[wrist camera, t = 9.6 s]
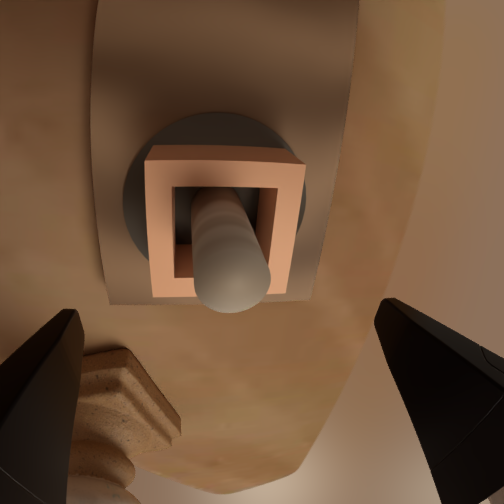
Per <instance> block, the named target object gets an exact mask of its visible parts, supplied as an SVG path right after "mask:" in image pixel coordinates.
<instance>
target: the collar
mask: <svg viewBox="0 0 504 504" xmlns="http://www.w3.org/2000/svg"><path fill="white" fill-rule="evenodd" d="M305 170H306V164H305V163H303V162H302V161H301V160H299V159H298V158H297V157H295V156H294V155H293V154H291V153H290V152H289V151H287V150H286V149H283V148H269V147H251V146H226V145H153V147H152V148H151V150H150V152H149V154H148V155H147V157H146V159H145V199H146V220H147V237H148V250H149V263H150V274H151V284H152V294H153V297H197V295H196V292H195V289H194V276H193V255H192V244H176V236H175V187H182V186H206V187H260V192H259V202H258V212H257V222H256V231H255V236H256V238H257V241H258V243H259V246H260V248H261V250H262V253H263V255H264V258H265V260H266V262H267V265H268V267H269V270H270V273H271V283H270V287H269V289H268V291H267V293H266V294H283V293H286V288H287V283H288V277H289V271H290V266H291V260H292V254H293V248H294V242H295V235H296V229H297V223H298V217H299V210H300V204H301V197H302V190H303V184H304V177H305Z"/></svg>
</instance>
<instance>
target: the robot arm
mask: <svg viewBox="0 0 504 504" xmlns="http://www.w3.org/2000/svg"><path fill="white" fill-rule="evenodd" d="M374 325H375V329H376V332H377V334H378V337H379V340H380V343H381V346H382V349H383V352H384V355H385V358H386V361H387V364H388V366H389V369H390V371H391V374H392V376H393V378H394V380H395V382H396V385H397V387H398V390H399V392H400V394H401V397H402V399H403V401H404V404H405V406H406V408H407V411H408V413H409V416H410V418H411V421H412V423H413V426H414V428H415V431H416V434H417V436H418V438H419V441H420V444H421V447H422V449H423V452H424V454H425V457H426V460H427V463H428V465H429V468H430V470H431V474H432V477H433V480H434V483H435V486H436V488H437V491H438V494H439V497H440V500H441V503H442V504H479V503H480V502H482V501H484V500H485V499H487V498H488V499H489V501H490V503H491V504H504V358H502V357H500V356H498V355H497V354H495V353H493V352H491V351H489V350H487V349H486V348H484V347H482V346H479V344H477V343H475V342H473V341H472V340H470V339H468V338H466V337H465V336H463V335H461V334H459V333H458V332H456V331H454V330H452V329H450V328H448V327H447V326H445V325H443V324H441V323H440V322H438V321H436V320H434V319H432V318H431V317H429V316H427V315H425V314H423V313H422V312H419V311H418V310H416V309H414V308H412V307H411V306H409V305H407V304H405V303H403V302H401V301H400V300H397V299H396V298H385V299H383V300H382V301H381V303H380V305H379V308H378V311H377V313H376V316H375V319H374ZM83 348H84V330H83V327H82V323H81V320H80V316H79V313H78V311H77V310H76V309H63V310H61V311H60V312H59V313H58V314H56V315H55V316H54V317H53V318H52V319H51V320H50V321H48V322H47V323H46V324H45V325H44V326H43V327H41V328H40V329H39V330H38V331H37V332H36V333H35V334H34V335H32V336H31V337H30V338H29V339H28V340H27V341H26V342H25V343H24V344H22V345H21V346H20V347H19V348H18V349H17V350H16V351H15V352H14V353H13V354H12V355H11V356H9V357H8V358H7V359H6V360H5V361H4V362H3V363H2V364H1V365H0V504H66V498H67V482H68V470H69V459H70V450H71V442H72V434H73V427H74V420H75V413H76V407H77V401H78V396H79V389H80V381H81V369H82V358H83Z"/></svg>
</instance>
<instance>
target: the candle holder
mask: <svg viewBox="0 0 504 504" xmlns="http://www.w3.org/2000/svg"><path fill="white" fill-rule="evenodd" d="M179 436H181V419H180V417H179V416H178V414H177V413H176V411H175V410H174V409H173V407H172V406H171V405H170V403H169V402H168V401H167V400H166V398H165V397H164V396H163V394H162V393H161V392H160V390H159V389H158V388H157V386H156V385H155V384H154V382H153V381H152V379H151V378H150V377H149V375H148V374H147V372H146V371H145V370H144V368H143V367H142V365H141V364H140V362H139V361H138V360H137V359H136V357H135V356H134V355H133V353H132V352H131V351H130V350H128V349H123V348H122V349H116V350H110V351H104V352H99V353H95V354H90V355H85V356H83V358H82V369H81V381H80V389H79V396H78V401H77V407H76V413H75V420H74V427H73V434H72V442H71V450H70V459H69V470H68V482H67V498H66V504H141V503H140V502H139V501H138V499H137V498H136V497H135V496H134V495H132V494H131V493H130V492H129V491H127V490H125V488H126V487H127V486H128V485H130V484H131V483H132V481H133V480H134V478H135V468H134V465H133V464H132V462H131V461H130V460H129V459H130V458H132V457H135V456H137V455H138V454H140V453H144V452H152V451H158V450H164V449H167V448H169V447H171V446H172V444H171V441H172V439H173V438H175V437H179Z"/></svg>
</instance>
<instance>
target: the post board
mask: <svg viewBox="0 0 504 504" xmlns="http://www.w3.org/2000/svg"><path fill="white" fill-rule="evenodd" d="M358 9H359V0H98V7H97V15H96V23H95V32H94V43H93V55H92V71H91V100H90V130H91V160H92V177H93V190H94V202H95V212H96V221H97V229H98V237H99V244H100V251H101V258H102V264H103V271H104V276H105V282H106V288H107V293H108V298H109V303H110V305H193V304H204V305H205V306H207V307H208V308H210V309H212V310H215V311H218V312H223V313H236V312H241V311H244V310H247V309H249V308H251V307H253V306H254V305H256V304H257V303H260V302H281V301H300V300H310V299H311V295H312V291H313V286H314V282H315V278H316V273H317V269H318V265H319V260H320V256H321V251H322V246H323V242H324V237H325V232H326V227H327V222H328V218H329V213H330V207H331V202H332V197H333V192H334V186H335V181H336V175H337V170H338V164H339V158H340V152H341V146H342V140H343V134H344V127H345V121H346V114H347V107H348V100H349V93H350V85H351V77H352V69H353V60H354V51H355V42H356V32H357V21H358ZM153 145H226V146H251V147H269V148H283V149H286V150H287V151H289V152H290V153H291V154H293V155H294V156H295V157H297V158H298V159H299V160H301V161H302V162H303V163H305V164H306V170H305V177H304V184H303V190H302V197H301V204H300V210H299V217H298V223H297V229H296V235H295V242H294V248H293V254H292V260H291V266H290V271H289V277H288V283H287V288H286V293H283V294H266V293H267V291H268V289H269V287H270V283H271V273H270V270H269V267H268V265H267V262H266V260H265V258H264V255H263V253H262V250H261V248H260V246H259V243H258V241H257V238H256V236H255V231H256V222H257V212H258V202H259V192H260V187H206V186H182V187H175V236H176V244H192V255H193V276H194V289H195V292H196V295H197V297H153V294H152V284H151V274H150V263H149V250H148V237H147V220H146V199H145V159H146V157H147V155H148V154H149V152H150V150H151V148H152V147H153Z"/></svg>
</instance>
